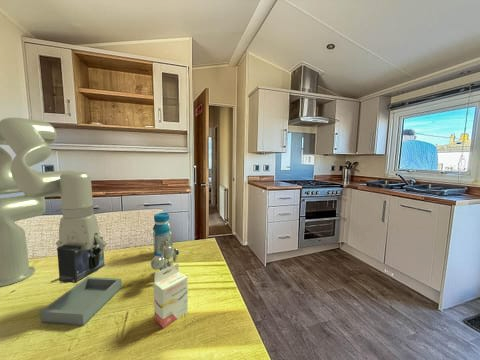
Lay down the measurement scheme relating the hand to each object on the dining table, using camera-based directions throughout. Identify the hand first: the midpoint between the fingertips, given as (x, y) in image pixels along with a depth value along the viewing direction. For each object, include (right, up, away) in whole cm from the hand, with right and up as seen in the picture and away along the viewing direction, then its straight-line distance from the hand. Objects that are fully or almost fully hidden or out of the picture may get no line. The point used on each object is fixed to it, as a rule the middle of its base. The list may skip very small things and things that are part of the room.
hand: (83, 266), depth 66 cm
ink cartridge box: (+30, -14, -3) cm, 33 cm away
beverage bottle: (+12, -9, +36) cm, 39 cm away
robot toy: (+21, -11, +16) cm, 29 cm away
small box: (0, -3, 0) cm, 3 cm away
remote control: (-15, -11, +18) cm, 26 cm away
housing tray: (0, -13, +2) cm, 13 cm away
